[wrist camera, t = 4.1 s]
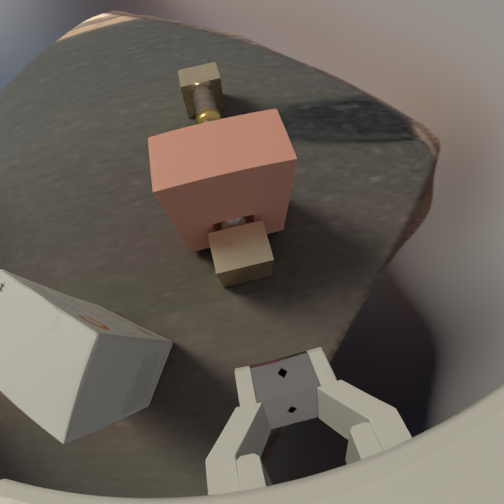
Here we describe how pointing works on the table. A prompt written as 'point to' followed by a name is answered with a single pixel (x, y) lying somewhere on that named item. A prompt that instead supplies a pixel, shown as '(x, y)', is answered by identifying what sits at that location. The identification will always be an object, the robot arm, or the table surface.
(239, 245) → the pipe rig
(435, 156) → the table surface
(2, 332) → the small box
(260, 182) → the collar
